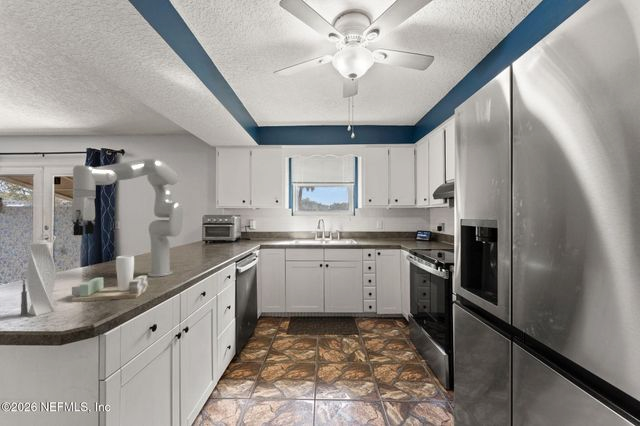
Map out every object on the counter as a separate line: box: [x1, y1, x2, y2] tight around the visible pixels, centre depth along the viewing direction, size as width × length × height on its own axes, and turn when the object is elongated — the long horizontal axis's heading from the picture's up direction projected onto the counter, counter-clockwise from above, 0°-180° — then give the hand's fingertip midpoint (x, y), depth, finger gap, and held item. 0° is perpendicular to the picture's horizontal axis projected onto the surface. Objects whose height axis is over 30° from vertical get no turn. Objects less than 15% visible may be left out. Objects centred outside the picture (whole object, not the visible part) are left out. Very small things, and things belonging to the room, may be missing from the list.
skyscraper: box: [19, 235, 57, 319], centre depth 104 cm, size 8×8×28 cm
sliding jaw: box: [71, 277, 105, 296], centre depth 124 cm, size 13×7×5 cm, turn 14°
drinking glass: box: [115, 254, 135, 291], centre depth 128 cm, size 7×7×15 cm
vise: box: [71, 274, 149, 303], centre depth 127 cm, size 16×23×6 cm
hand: (84, 234), depth 124 cm, fingers open, 9 cm apart
